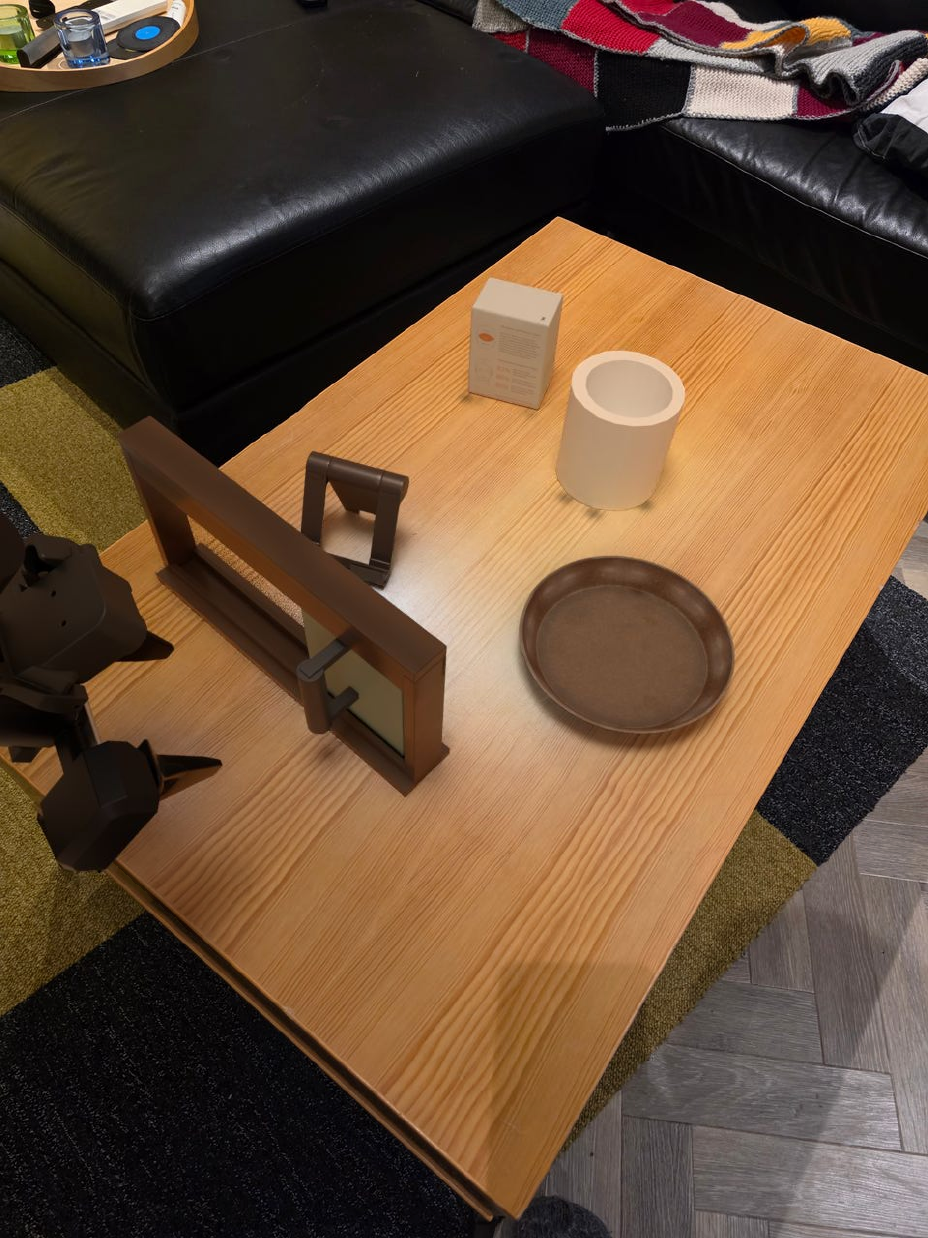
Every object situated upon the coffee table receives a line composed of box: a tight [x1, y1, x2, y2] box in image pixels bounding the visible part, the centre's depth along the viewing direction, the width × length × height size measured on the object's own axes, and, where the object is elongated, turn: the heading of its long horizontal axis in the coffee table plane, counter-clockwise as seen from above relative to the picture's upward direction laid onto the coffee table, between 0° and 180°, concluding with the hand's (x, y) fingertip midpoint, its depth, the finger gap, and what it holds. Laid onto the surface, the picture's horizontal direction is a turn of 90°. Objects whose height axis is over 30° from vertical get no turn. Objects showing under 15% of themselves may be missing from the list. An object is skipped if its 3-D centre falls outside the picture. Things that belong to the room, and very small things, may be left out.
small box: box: [467, 276, 564, 410], centre depth 89 cm, size 8×6×10 cm
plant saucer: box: [518, 555, 736, 735], centre depth 73 cm, size 18×18×3 cm
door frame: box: [116, 415, 451, 797], centre depth 66 cm, size 5×30×16 cm, turn 48°
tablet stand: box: [300, 450, 410, 587], centre depth 77 cm, size 9×8×8 cm
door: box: [296, 608, 405, 756], centre depth 63 cm, size 6×10×12 cm, turn 48°
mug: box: [555, 350, 686, 512], centre depth 83 cm, size 14×10×11 cm
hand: (193, 707), depth 55 cm, fingers open, 9 cm apart
